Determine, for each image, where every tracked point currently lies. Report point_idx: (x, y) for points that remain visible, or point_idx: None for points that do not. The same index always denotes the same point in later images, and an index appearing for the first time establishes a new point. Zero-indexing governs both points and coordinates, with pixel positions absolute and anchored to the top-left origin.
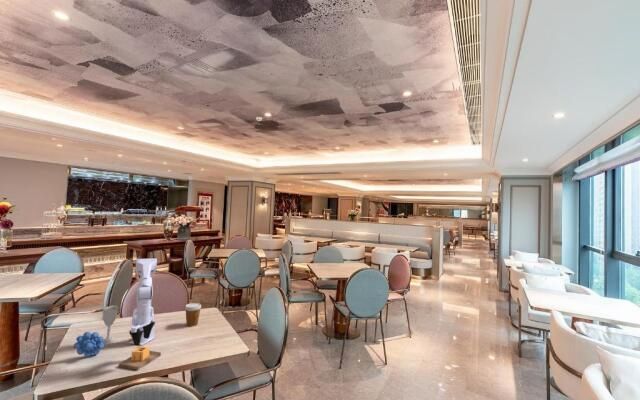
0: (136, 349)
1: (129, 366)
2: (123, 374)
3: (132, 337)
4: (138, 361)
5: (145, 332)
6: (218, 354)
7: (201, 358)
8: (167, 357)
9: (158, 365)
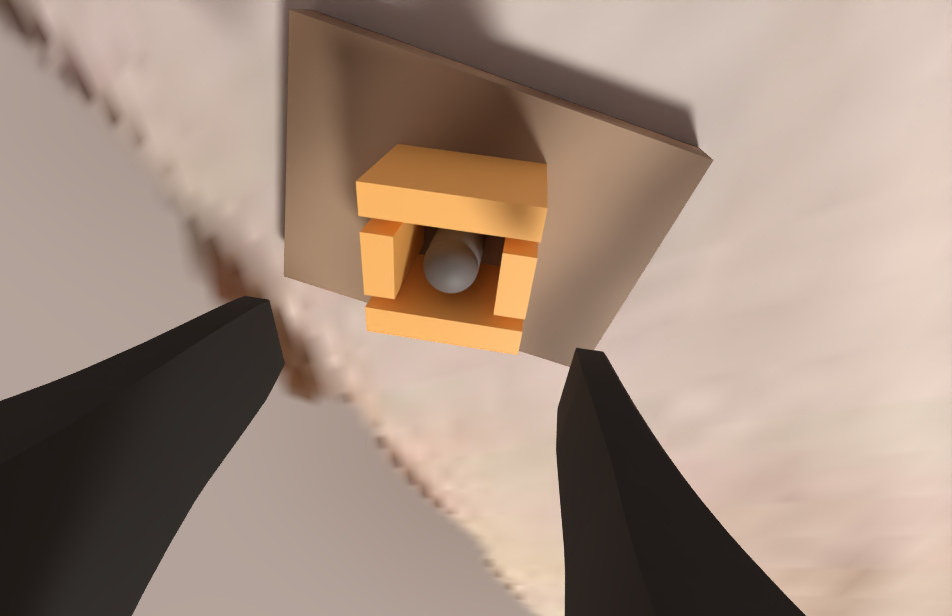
0: (430, 219)
1: (291, 179)
2: (206, 163)
3: (11, 413)
4: None
5: (589, 471)
6: (548, 592)
7: (505, 545)
8: (535, 401)
9: (403, 375)
